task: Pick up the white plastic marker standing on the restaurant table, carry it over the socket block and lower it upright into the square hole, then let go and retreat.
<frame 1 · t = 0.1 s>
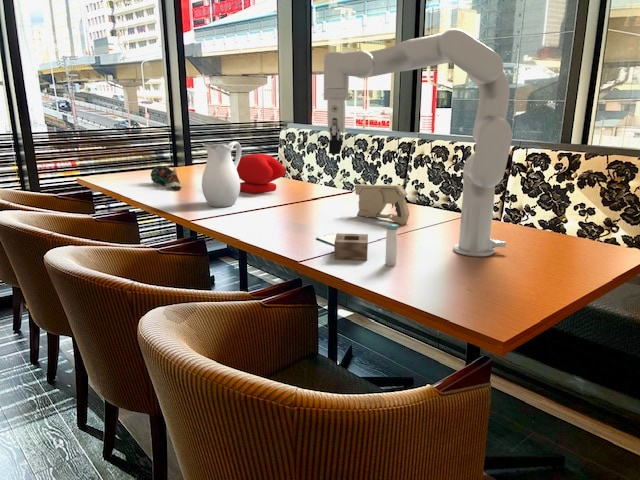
hand: (335, 151, 162), 31 cm above the table, tool pointing down, fingers open, 9 cm apart
pitcher: (226, 203, 238), on the table
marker: (390, 264, 153), on the table
sculpture: (168, 187, 279), on the table
gun: (380, 220, 208), on the table
socket block: (351, 254, 162), on the table
toy: (258, 191, 267), on the table
smartphone: (338, 243, 176), on the table
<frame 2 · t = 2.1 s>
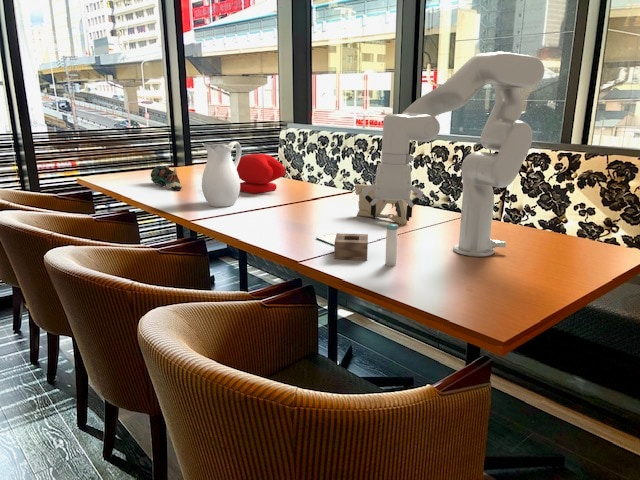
hand: (390, 219, 149), 14 cm above the table, tool pointing down, fingers open, 9 cm apart
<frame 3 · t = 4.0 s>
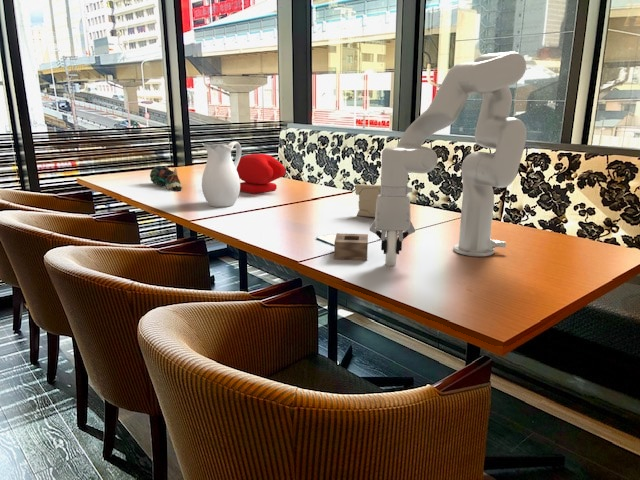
hand: (391, 252, 152), 4 cm above the table, tool pointing down, fingers closed on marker, 3 cm apart
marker: (390, 264, 153), on the table, touching gripper
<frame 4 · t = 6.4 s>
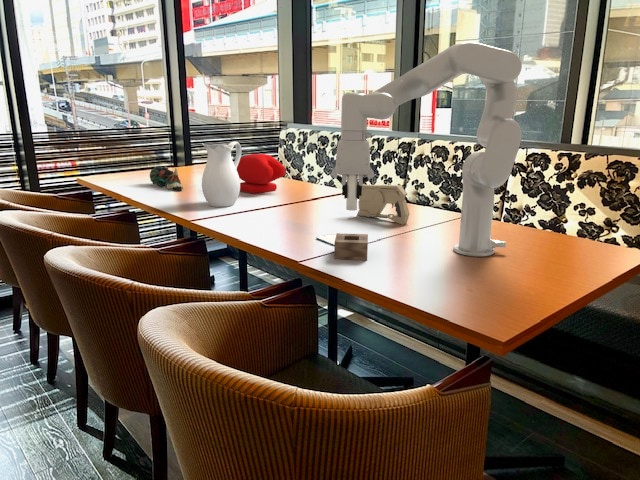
hand: (351, 197, 157), 18 cm above the table, tool pointing down, fingers closed on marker, 3 cm apart
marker: (351, 209, 158), point 15 cm above the table, touching gripper
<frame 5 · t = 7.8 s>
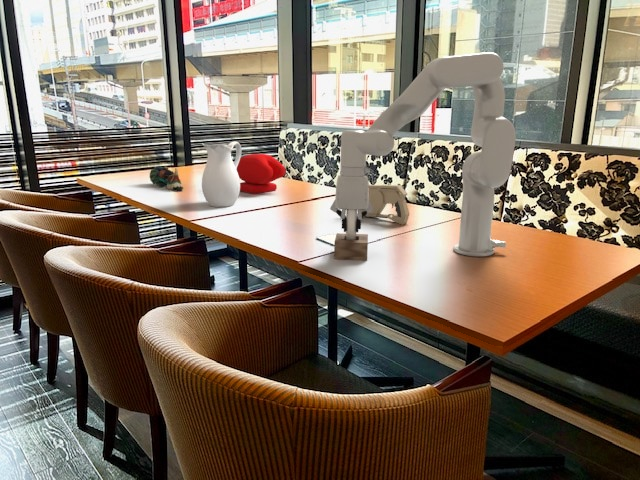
hand: (351, 230, 160), 8 cm above the table, tool pointing down, fingers closed on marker, 3 cm apart
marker: (350, 242, 161), point 4 cm above the table, touching gripper
when the fingers open (7 cm above the table, at t = 8.9 s): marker drops 2 cm, resting on socket block.
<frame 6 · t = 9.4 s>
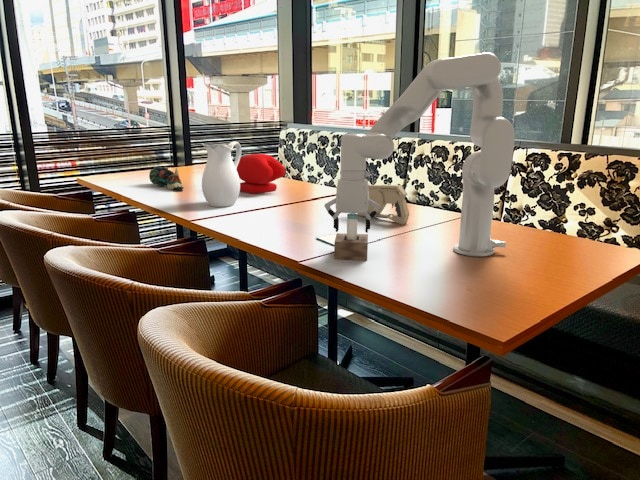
hand: (351, 231, 160), 8 cm above the table, tool pointing down, fingers open, 8 cm apart
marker: (351, 251, 162), point 1 cm above the table, touching socket block
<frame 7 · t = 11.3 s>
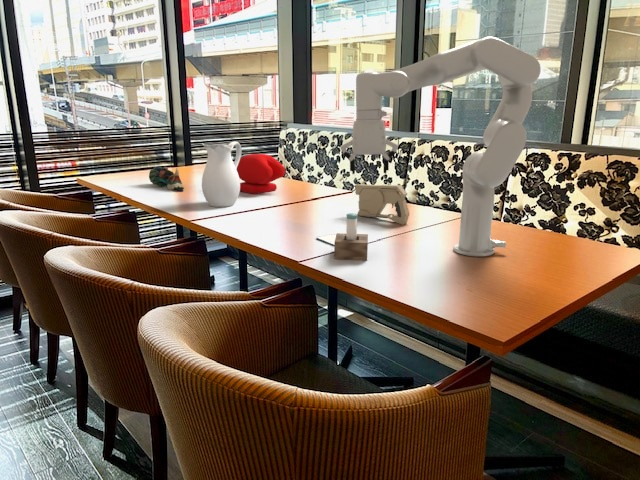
hand: (369, 173, 159), 25 cm above the table, tool pointing down, fingers open, 9 cm apart
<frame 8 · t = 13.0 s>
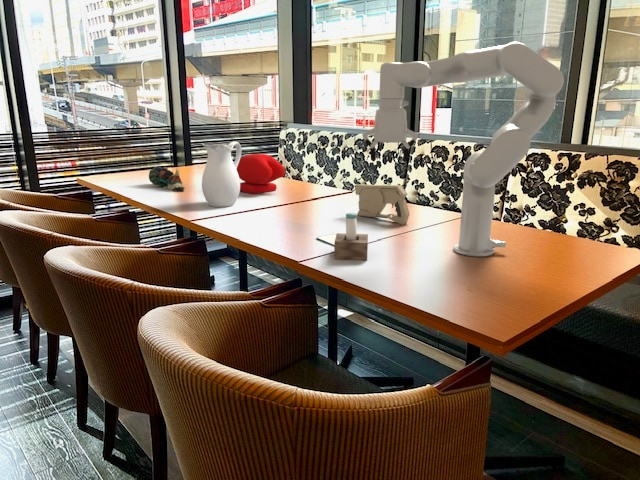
hand: (389, 161, 163), 28 cm above the table, tool pointing down, fingers open, 9 cm apart
at the end: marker 0.1 cm off-centre on the socket block, point 1.0 cm above the socket block's base; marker tilted 1°; the gripper is holding nothing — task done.
